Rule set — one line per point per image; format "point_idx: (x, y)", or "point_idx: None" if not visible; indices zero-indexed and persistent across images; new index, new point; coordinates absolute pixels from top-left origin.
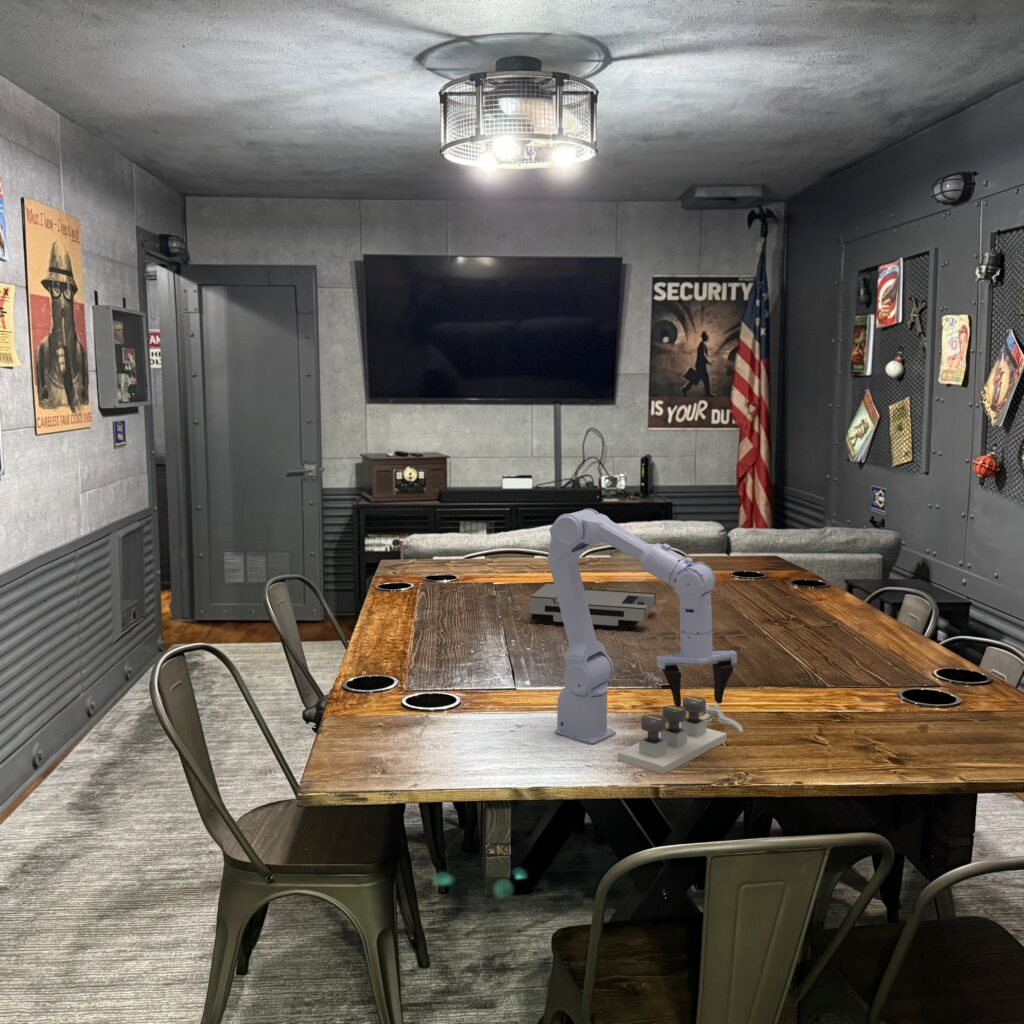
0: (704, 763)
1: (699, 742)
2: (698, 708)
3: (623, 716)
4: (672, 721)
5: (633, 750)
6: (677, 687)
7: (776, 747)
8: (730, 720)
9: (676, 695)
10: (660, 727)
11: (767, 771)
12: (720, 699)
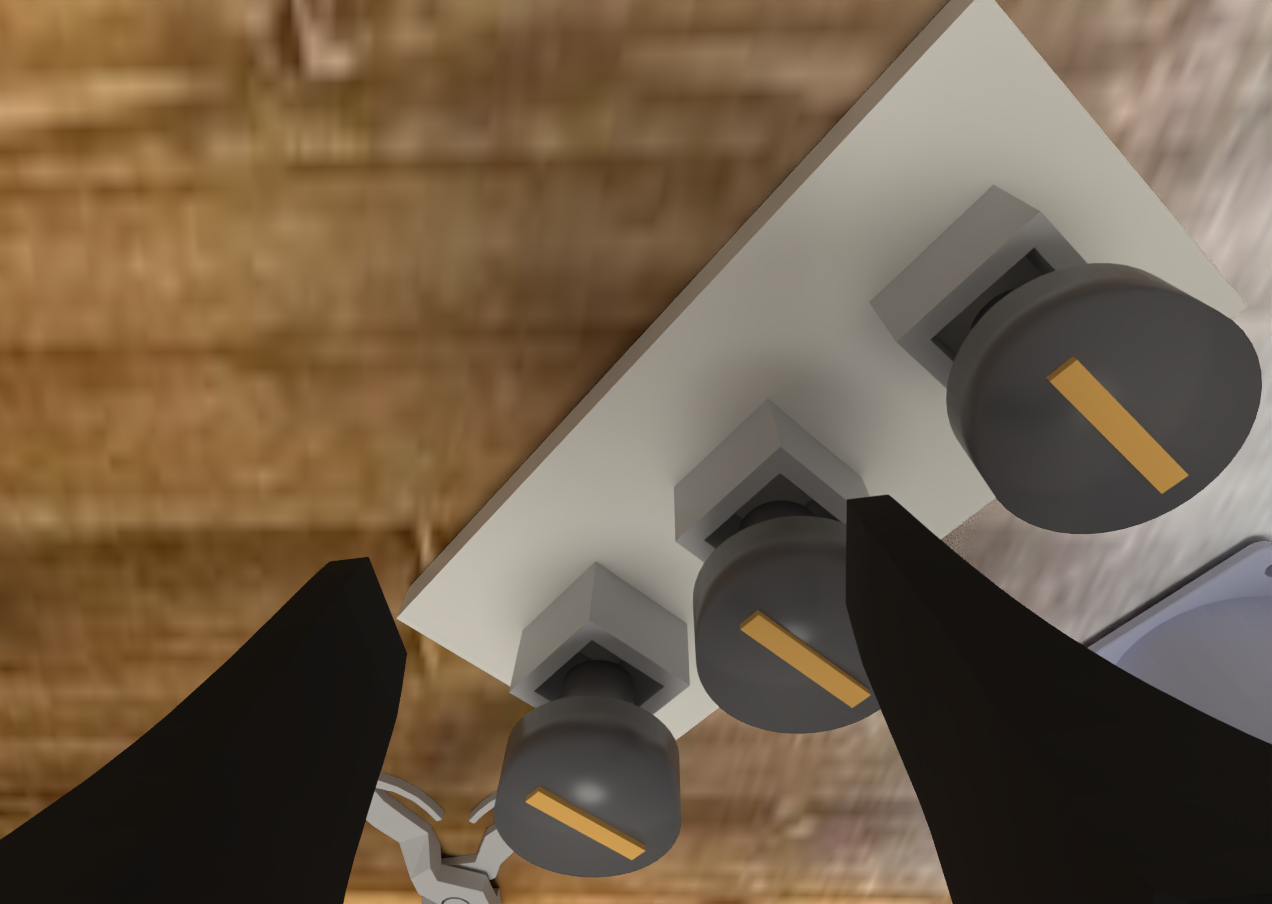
0: (590, 236)
1: (588, 486)
2: (567, 723)
3: (912, 858)
4: (834, 523)
5: None
6: (1020, 658)
7: (109, 501)
8: (373, 806)
9: (972, 571)
10: (1059, 290)
11: (129, 81)
12: (320, 583)
